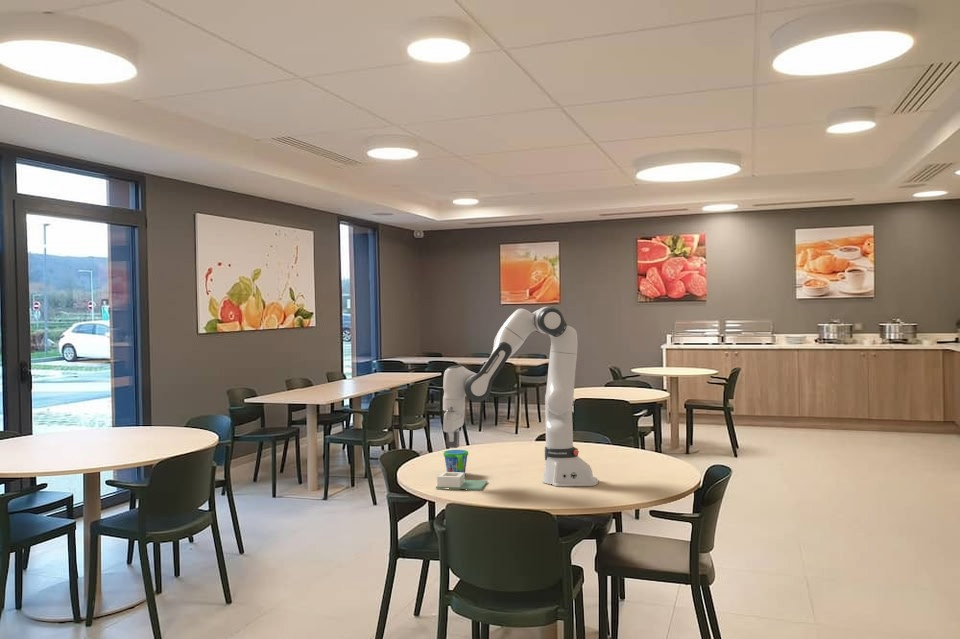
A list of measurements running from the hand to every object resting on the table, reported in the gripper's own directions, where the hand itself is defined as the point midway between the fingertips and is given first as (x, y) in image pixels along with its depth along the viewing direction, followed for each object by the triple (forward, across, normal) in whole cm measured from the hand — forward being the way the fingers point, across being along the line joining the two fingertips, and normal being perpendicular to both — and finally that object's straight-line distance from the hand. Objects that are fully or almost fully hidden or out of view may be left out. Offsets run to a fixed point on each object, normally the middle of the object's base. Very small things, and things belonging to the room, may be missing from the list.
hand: (453, 440), depth 274 cm
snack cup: (+18, +19, +3) cm, 27 cm away
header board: (+18, 0, -4) cm, 18 cm away
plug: (+3, 0, 0) cm, 3 cm away
